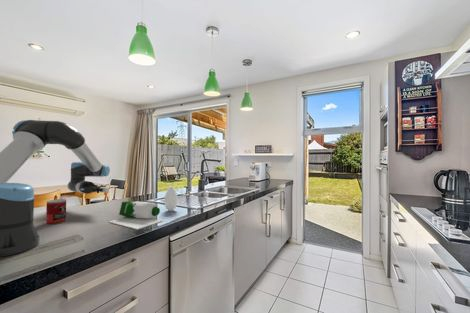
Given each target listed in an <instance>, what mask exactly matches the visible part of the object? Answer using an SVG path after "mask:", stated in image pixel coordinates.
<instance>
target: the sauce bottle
mask: <svg viewBox="0 0 470 313" xmlns="http://www.w3.org/2000/svg"><path fill="white" fill-rule="evenodd" d="M172 183H173V182H171V183H170V186H169V187H168V189H167V190H166V192H165V196H164V199H163V200H164V201H163V203H164V207H165V209H166V210H167V211H169V212H173V211H174V210H175V209H176V208H177V206H178V194H177V191H176V189H175V188H174V186H172V185H173V184H172Z"/></svg>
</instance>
